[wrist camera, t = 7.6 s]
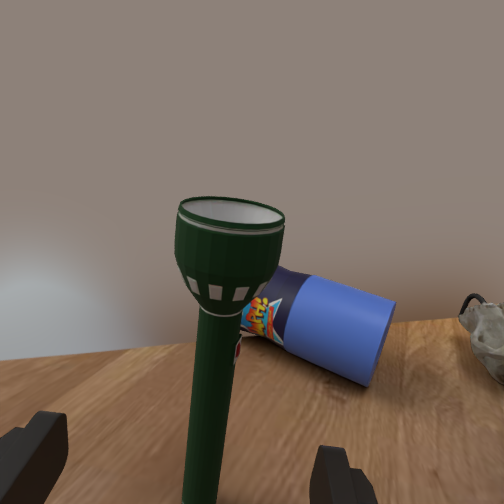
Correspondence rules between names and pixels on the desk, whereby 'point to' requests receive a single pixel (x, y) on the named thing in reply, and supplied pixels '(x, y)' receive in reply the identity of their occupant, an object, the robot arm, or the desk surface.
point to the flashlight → (220, 314)
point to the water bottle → (322, 322)
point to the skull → (487, 336)
